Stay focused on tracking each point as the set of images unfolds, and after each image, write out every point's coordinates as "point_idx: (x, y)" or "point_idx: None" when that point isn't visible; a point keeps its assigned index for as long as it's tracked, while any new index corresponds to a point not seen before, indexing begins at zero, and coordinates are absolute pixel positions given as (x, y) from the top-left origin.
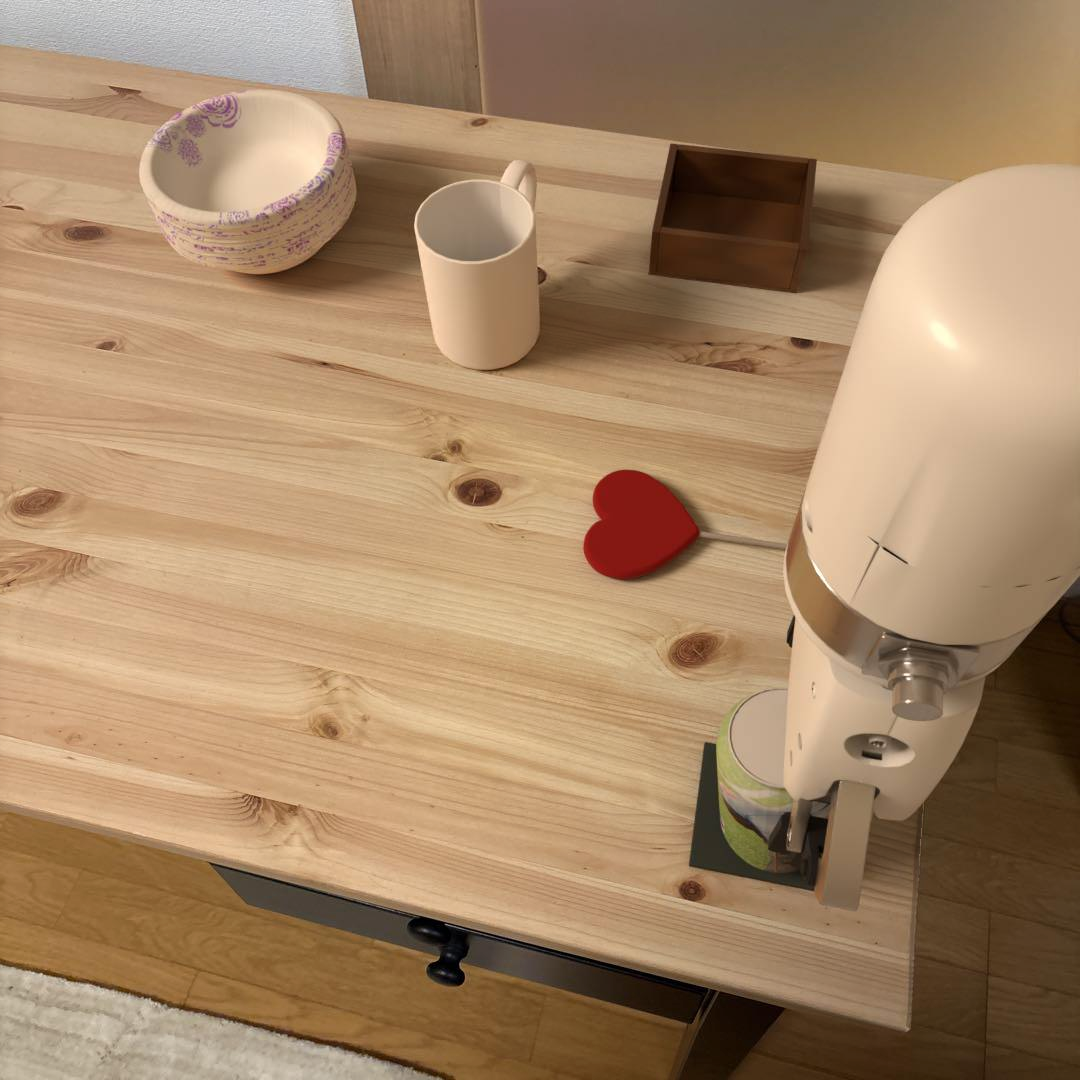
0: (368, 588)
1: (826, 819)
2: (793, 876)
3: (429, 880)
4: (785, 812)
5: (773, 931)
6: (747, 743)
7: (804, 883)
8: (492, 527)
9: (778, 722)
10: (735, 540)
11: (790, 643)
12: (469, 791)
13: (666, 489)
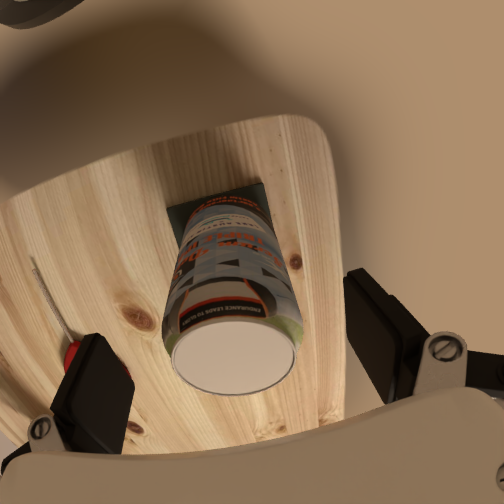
0: (209, 442)
1: (410, 393)
2: (261, 205)
3: (335, 373)
4: (384, 403)
5: (301, 204)
6: (256, 382)
7: (262, 196)
8: (145, 419)
9: (219, 369)
10: (61, 322)
11: (133, 392)
12: (286, 381)
13: (65, 366)
